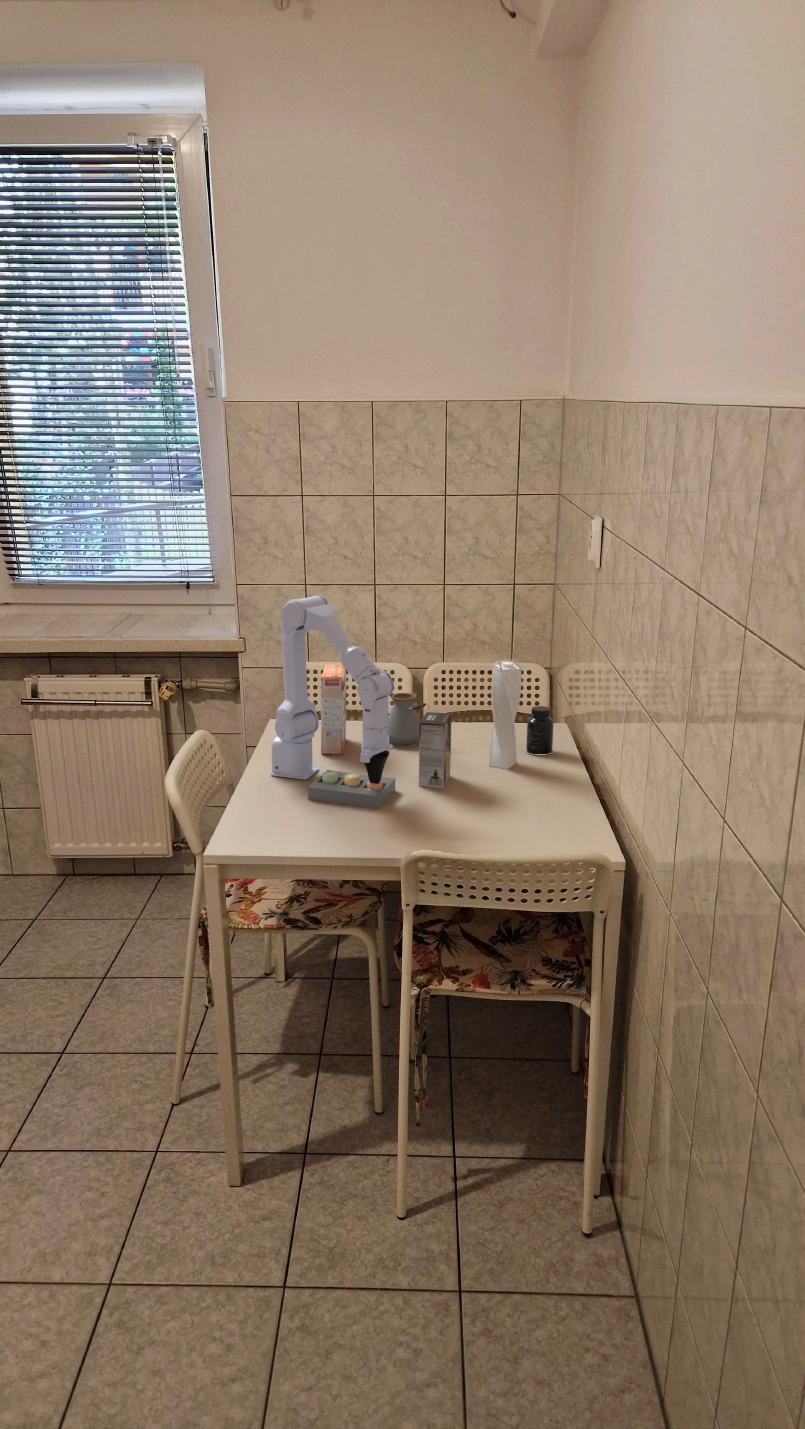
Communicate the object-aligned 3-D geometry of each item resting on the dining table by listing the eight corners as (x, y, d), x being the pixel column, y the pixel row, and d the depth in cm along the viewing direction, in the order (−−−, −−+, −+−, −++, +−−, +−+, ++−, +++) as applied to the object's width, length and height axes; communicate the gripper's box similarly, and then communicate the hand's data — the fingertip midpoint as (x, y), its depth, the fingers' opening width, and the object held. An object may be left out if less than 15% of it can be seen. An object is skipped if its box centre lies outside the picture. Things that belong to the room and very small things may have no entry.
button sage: (319, 788, 231) (319, 775, 230) (325, 783, 234) (325, 770, 233) (334, 790, 230) (334, 777, 229) (340, 785, 233) (340, 772, 232)
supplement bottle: (533, 746, 266) (536, 703, 263) (556, 751, 263) (559, 707, 259) (521, 752, 261) (523, 708, 258) (544, 758, 257) (546, 713, 254)
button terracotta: (364, 797, 228) (364, 784, 227) (370, 792, 231) (370, 778, 230) (379, 799, 227) (379, 785, 226) (384, 794, 230) (384, 780, 229)
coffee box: (424, 773, 245) (426, 711, 240) (450, 775, 244) (452, 712, 239) (417, 786, 236) (419, 722, 232) (444, 789, 235) (446, 724, 230)
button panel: (308, 799, 228) (308, 787, 227) (327, 781, 239) (327, 770, 238) (378, 808, 223) (378, 796, 222) (395, 790, 234) (395, 778, 233)
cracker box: (343, 755, 257) (343, 676, 251) (320, 755, 257) (319, 676, 251) (347, 738, 270) (347, 663, 264) (325, 738, 270) (324, 663, 264)
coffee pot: (376, 737, 271) (376, 684, 267) (415, 733, 275) (416, 681, 271) (403, 762, 252) (404, 706, 248) (445, 758, 256) (446, 702, 252)
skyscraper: (509, 772, 247) (514, 662, 239) (482, 766, 250) (486, 658, 242) (522, 763, 253) (527, 655, 245) (495, 757, 257) (500, 651, 249)
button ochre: (342, 791, 229) (342, 778, 228) (347, 786, 233) (347, 773, 232) (357, 793, 228) (357, 780, 227) (362, 788, 232) (362, 774, 231)
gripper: (381, 737, 216) (381, 795, 220) (402, 718, 230) (401, 774, 234) (351, 733, 218) (351, 791, 222) (373, 715, 232) (372, 770, 236)
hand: (375, 782), depth 228 cm, fingers closed, pressing on button terracotta
